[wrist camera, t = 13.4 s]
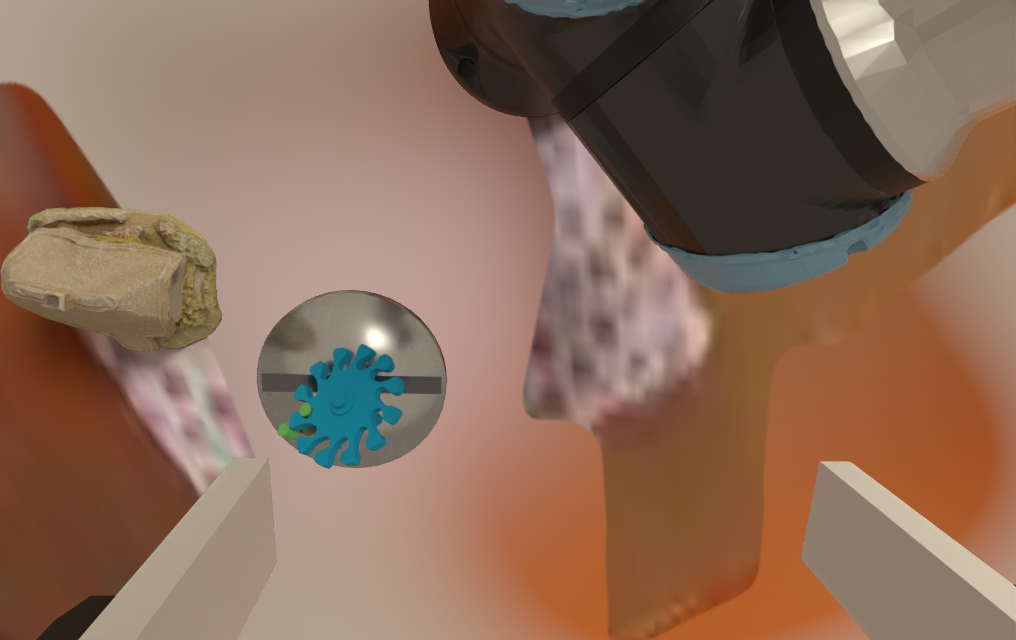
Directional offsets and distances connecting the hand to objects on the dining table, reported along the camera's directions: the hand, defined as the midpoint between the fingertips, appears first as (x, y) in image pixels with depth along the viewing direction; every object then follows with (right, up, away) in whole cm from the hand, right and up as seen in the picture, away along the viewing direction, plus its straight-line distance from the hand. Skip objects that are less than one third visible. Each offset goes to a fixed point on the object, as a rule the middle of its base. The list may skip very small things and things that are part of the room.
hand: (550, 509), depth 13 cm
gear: (-15, -1, +34) cm, 37 cm away
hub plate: (-14, -1, +35) cm, 38 cm away
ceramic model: (-31, +8, +32) cm, 46 cm away
